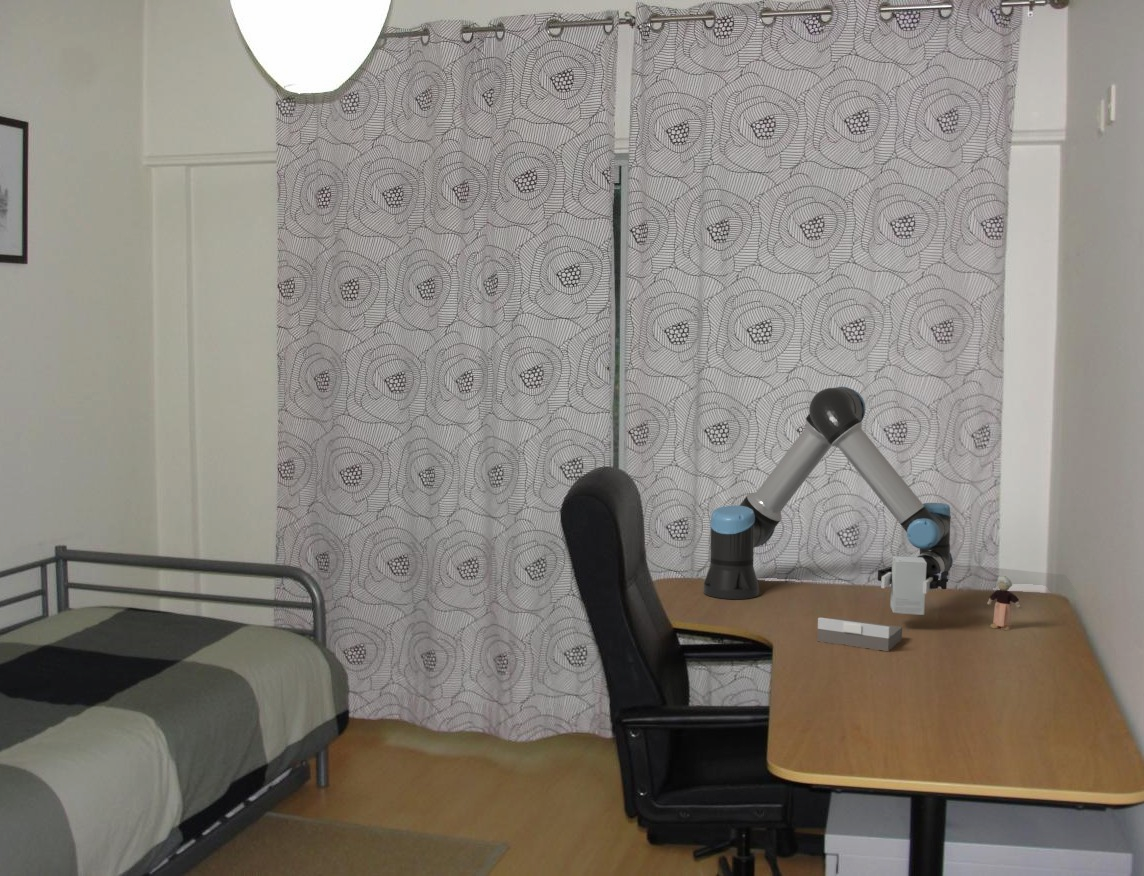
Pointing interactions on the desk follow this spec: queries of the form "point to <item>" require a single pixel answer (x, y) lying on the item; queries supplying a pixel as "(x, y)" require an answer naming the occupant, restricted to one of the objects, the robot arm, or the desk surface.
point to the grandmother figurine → (1003, 604)
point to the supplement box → (908, 585)
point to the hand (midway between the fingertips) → (903, 585)
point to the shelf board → (858, 633)
